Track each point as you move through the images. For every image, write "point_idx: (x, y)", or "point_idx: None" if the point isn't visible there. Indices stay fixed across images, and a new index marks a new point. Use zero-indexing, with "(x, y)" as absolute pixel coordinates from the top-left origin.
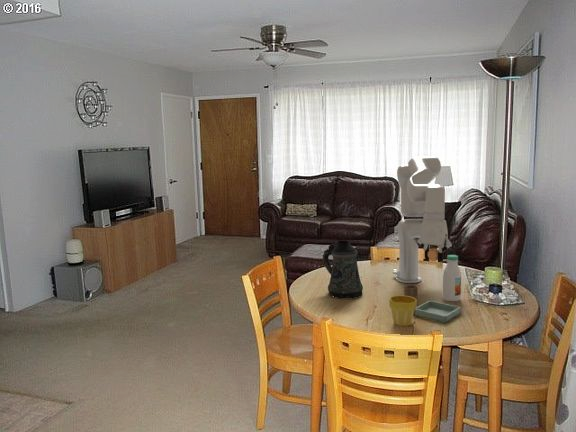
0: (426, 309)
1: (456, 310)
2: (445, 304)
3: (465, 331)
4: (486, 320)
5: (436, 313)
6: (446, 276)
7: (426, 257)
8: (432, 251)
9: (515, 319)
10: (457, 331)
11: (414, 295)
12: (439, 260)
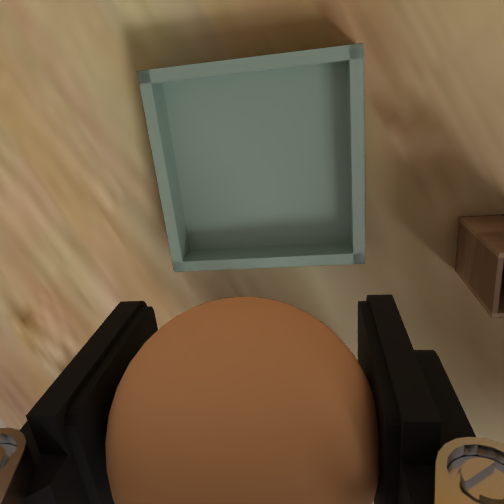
0: (337, 176)
1: (164, 215)
2: (257, 258)
3: (22, 44)
4: (60, 253)
5: (259, 158)
6: None
7: (370, 322)
8: (194, 414)
9: (4, 338)
10: (43, 9)
11: (475, 257)
12: (114, 322)
